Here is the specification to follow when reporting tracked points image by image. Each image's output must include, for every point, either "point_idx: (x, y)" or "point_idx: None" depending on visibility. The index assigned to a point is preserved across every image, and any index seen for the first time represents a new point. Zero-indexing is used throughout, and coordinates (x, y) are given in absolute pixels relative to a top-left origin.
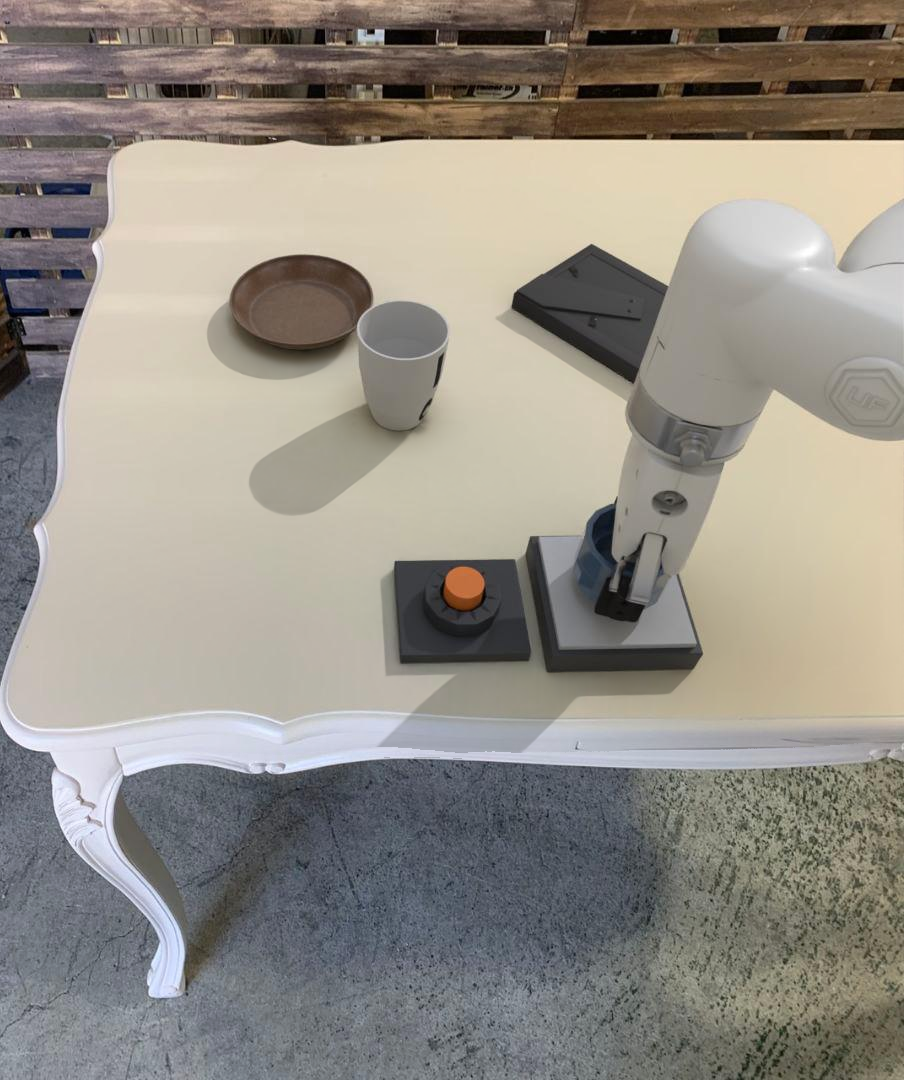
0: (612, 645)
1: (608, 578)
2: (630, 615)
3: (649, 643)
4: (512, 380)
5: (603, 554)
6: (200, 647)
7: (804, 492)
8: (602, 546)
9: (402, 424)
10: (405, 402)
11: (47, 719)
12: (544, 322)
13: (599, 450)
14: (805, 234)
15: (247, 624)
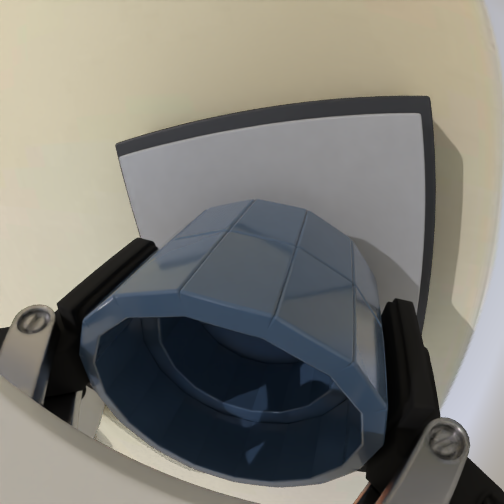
0: (418, 300)
1: (360, 468)
2: (429, 362)
3: (423, 229)
4: (12, 294)
5: (214, 327)
6: (339, 499)
7: None
8: (200, 342)
9: (97, 402)
10: (84, 429)
11: None
12: None
13: (30, 218)
14: None
15: (322, 489)
